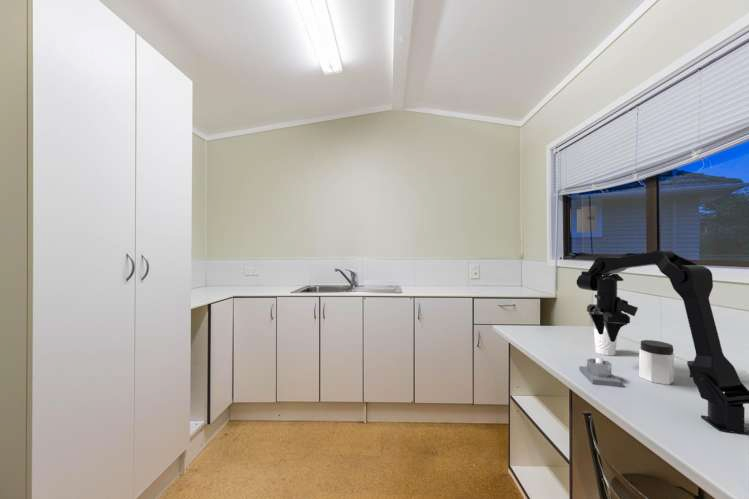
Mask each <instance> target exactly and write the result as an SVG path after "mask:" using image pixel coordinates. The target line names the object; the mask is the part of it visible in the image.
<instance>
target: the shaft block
mask: <svg viewBox="0 0 749 499" xmlns="http://www.w3.org/2000/svg"><path fill="white" fill-rule="evenodd" d="M595 359H596V363H600V364H603V360H604V359H603V358H601V357H596V358H595ZM578 368H579V372H580V373H581V374H582V375H583V376H584V377H585V378H586V379H587V381H589V382H590V383H591V385H597V386H606V387H607V386H608V387H609V386H610V387H618V388H622V387H623V386H622V384H623V382H622V381H621V380H620V379H619V378H617V376H615V375H614V374H612V373H611V377H608V378H605V377H597V376H594V375H591V374H589V373H588V372H587V366H583V365H582V366H581V365H580V366H579V367H578Z"/></svg>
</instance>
